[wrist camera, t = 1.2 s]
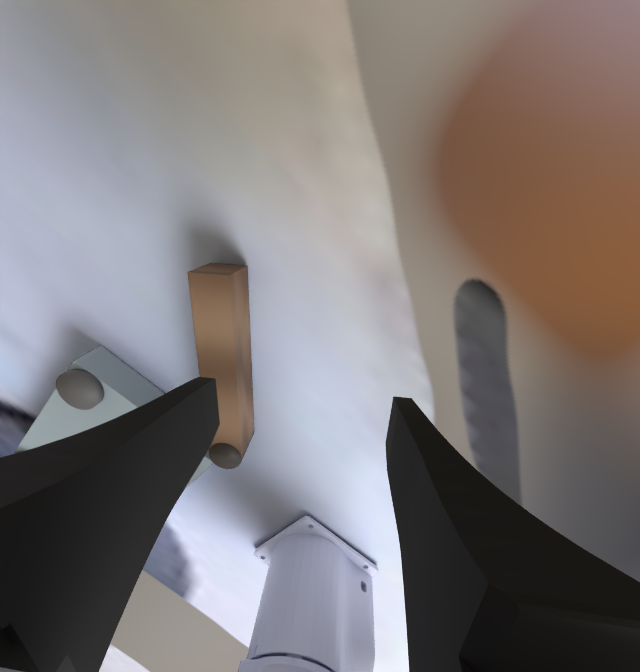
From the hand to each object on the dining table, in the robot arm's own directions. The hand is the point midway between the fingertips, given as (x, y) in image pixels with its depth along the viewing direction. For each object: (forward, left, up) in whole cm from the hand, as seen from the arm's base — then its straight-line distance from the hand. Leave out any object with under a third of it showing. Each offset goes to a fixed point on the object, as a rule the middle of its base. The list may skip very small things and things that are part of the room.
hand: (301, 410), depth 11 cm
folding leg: (+2, +7, -10) cm, 13 cm away
